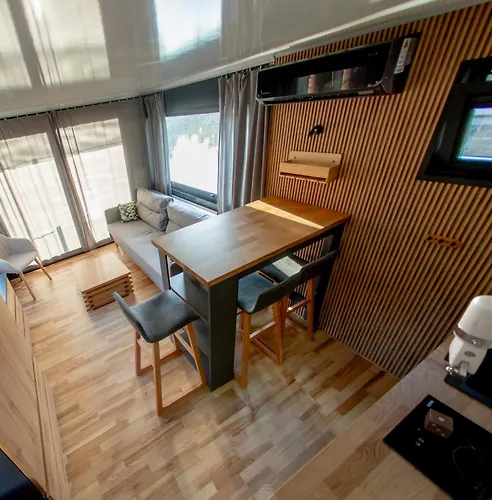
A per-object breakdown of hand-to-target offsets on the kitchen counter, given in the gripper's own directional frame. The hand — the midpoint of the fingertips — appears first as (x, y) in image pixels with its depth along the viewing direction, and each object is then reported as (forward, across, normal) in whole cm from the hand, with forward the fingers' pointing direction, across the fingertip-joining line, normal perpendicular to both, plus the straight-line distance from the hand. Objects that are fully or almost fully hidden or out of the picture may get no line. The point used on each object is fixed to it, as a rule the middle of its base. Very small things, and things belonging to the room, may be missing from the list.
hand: (450, 372), depth 81 cm
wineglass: (+20, +25, -7) cm, 33 cm away
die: (+20, -6, -2) cm, 22 cm away
